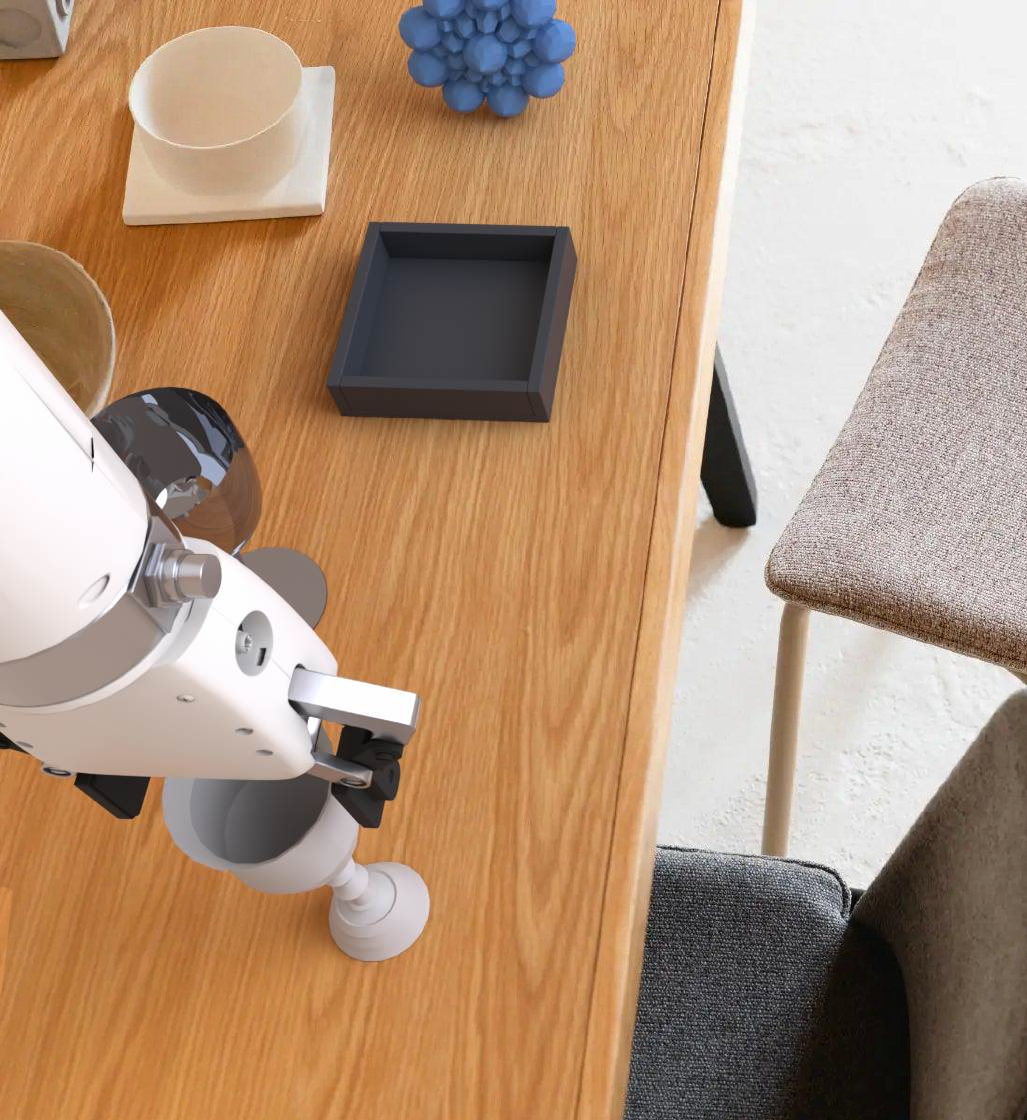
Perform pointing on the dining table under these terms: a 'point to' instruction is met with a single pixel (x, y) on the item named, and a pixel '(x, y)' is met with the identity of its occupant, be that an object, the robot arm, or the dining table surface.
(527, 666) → the dining table surface
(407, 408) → the tray
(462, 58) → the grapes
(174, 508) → the wine glass
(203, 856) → the chalice
